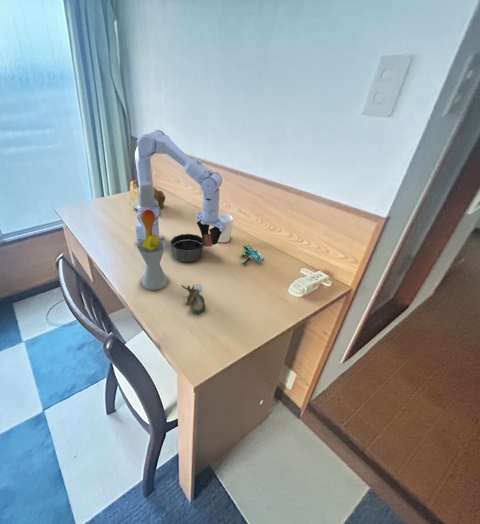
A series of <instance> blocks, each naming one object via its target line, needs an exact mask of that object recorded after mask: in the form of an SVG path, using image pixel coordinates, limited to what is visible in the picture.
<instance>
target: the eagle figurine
mask: <svg viewBox="0 0 480 524" xmlns="http://www.w3.org/2000/svg"><path fill="white" fill-rule="evenodd" d="M181 288H183V289H184V290H186V291H187V292H188V293H189V294H188V297H187V301H186V306H188V305H189V304H191V303H192V301H193V308H192V313H193V314H194V315H196V316H199V315H201V314H202V313H204V311H205V310H206V303H205V299H204V297H203V295H201V294H200V293H202V292H203V285H202V284H201V283H196V285H195V284H193V285H192V287H190V285H187V286H184V285H183V284H181Z"/></svg>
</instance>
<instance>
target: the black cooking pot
mask: <svg viewBox="0 0 480 524" xmlns="http://www.w3.org/2000/svg"><path fill="white" fill-rule="evenodd" d="M212 246H213V245H212V239H211V233H208V234H204V239H203V238H202V236H200V235H199V234H194V233H183V234H181V233H180V234H178V235H175V236H174V237H172V238H171V240H169V248H170V252H171V253H172V257H173V258H174V259H176V260H177V261H180V262H184V263H185V262H186V263H187V262H196V261H197V260H200V259H201V258H202V257H203V255H204V252H205V250H206V248H207V247H212Z"/></svg>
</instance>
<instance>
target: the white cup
mask: <svg viewBox="0 0 480 524" xmlns="http://www.w3.org/2000/svg"><path fill="white" fill-rule="evenodd" d="M218 219H219V220H220V221H221V222H222V223H223V224H224V225H226V228H225V231H223V232H222V233H221V235H220V237H219V240H218V243H227V242H229V241H230V239H231V233H232V229H233V223H234V222H233V221H234V216H232V215H231V214H228V213H219V214H218Z"/></svg>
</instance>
